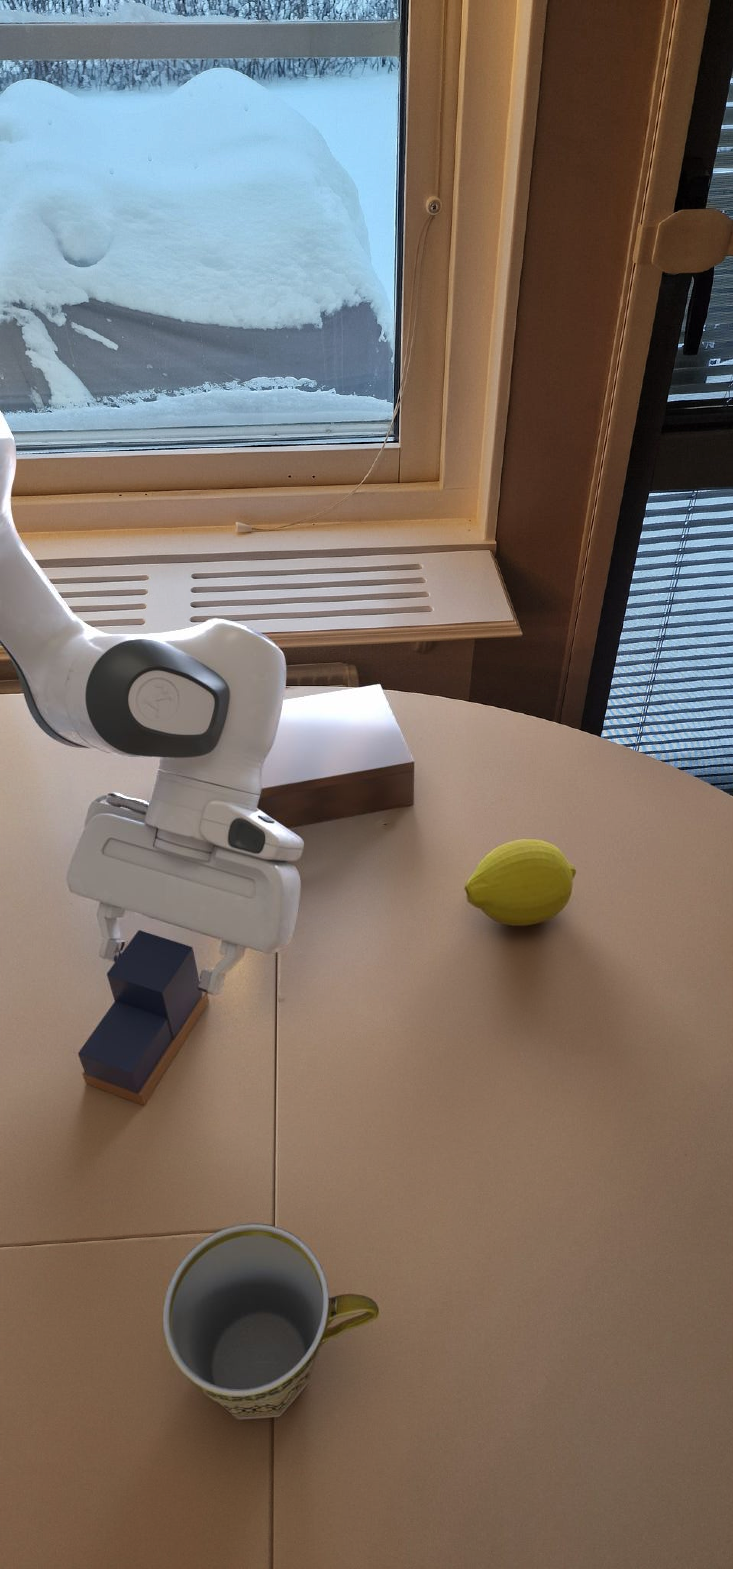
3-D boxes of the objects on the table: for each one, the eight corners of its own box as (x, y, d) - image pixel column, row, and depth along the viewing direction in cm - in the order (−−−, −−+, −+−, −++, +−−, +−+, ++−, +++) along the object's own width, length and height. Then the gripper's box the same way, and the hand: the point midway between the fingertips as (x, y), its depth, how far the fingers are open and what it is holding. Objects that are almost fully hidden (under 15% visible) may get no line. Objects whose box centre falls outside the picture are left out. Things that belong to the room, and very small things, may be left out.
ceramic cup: (178, 1456, 65) (154, 1400, 58) (190, 1293, 72) (170, 1226, 66) (384, 1443, 65) (383, 1386, 59) (375, 1282, 73) (373, 1215, 66)
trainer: (144, 1105, 84) (127, 1048, 78) (85, 1083, 85) (65, 1026, 80) (209, 1001, 91) (198, 943, 86) (154, 983, 93) (139, 924, 87)
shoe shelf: (226, 839, 106) (220, 796, 102) (208, 755, 117) (202, 712, 113) (413, 804, 110) (414, 761, 106) (380, 725, 120) (380, 683, 116)
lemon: (560, 874, 102) (569, 815, 96) (584, 935, 96) (596, 875, 91) (452, 888, 101) (455, 829, 95) (470, 950, 95) (475, 891, 90)
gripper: (75, 783, 87) (33, 943, 87) (296, 844, 81) (252, 1016, 81) (113, 790, 93) (74, 939, 93) (321, 847, 87) (280, 1006, 87)
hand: (158, 975), depth 87 cm, fingers open, 8 cm apart
